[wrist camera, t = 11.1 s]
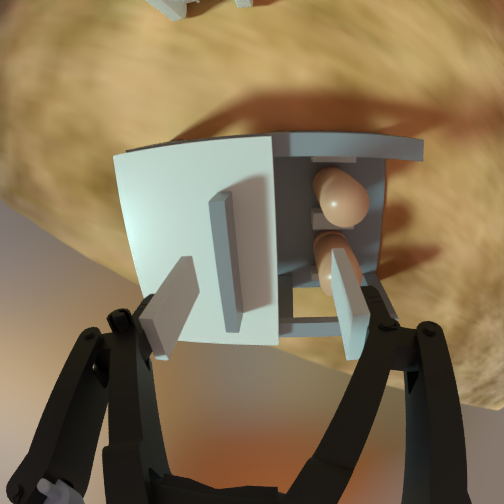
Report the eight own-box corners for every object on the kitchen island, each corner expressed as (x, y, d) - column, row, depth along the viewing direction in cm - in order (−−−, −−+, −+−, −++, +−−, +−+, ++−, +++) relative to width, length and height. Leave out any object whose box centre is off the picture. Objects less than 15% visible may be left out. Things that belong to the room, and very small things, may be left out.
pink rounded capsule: (311, 165, 32) (321, 179, 24) (349, 165, 32) (370, 179, 24) (312, 202, 34) (321, 227, 26) (348, 202, 34) (367, 227, 26)
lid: (119, 153, 23) (94, 161, 19) (271, 135, 22) (269, 137, 18) (160, 332, 32) (147, 355, 28) (279, 337, 30) (277, 365, 26)
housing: (168, 141, 33) (125, 150, 23) (384, 134, 30) (423, 139, 20) (190, 284, 42) (165, 332, 32) (372, 283, 39) (394, 332, 29)
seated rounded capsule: (312, 228, 36) (320, 259, 28) (347, 227, 35) (365, 259, 27) (312, 260, 38) (318, 298, 29) (345, 259, 37) (359, 297, 29)
